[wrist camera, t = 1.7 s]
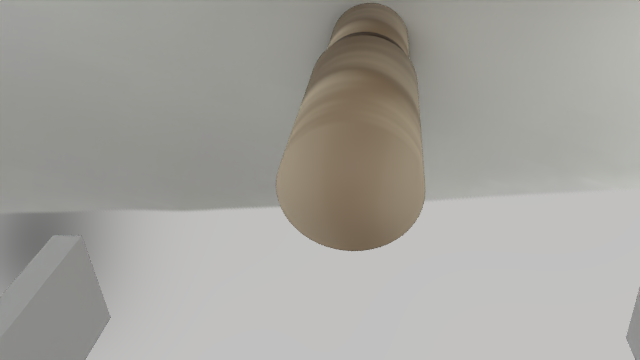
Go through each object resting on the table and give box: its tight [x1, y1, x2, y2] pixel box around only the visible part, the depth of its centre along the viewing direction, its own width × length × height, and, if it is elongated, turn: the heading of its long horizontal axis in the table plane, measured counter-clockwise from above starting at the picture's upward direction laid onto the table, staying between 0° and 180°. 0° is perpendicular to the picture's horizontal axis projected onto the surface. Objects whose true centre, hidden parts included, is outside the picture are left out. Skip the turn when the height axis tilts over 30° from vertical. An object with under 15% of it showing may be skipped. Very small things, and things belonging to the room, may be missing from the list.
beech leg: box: [276, 3, 425, 251], centre depth 23 cm, size 4×4×14 cm
